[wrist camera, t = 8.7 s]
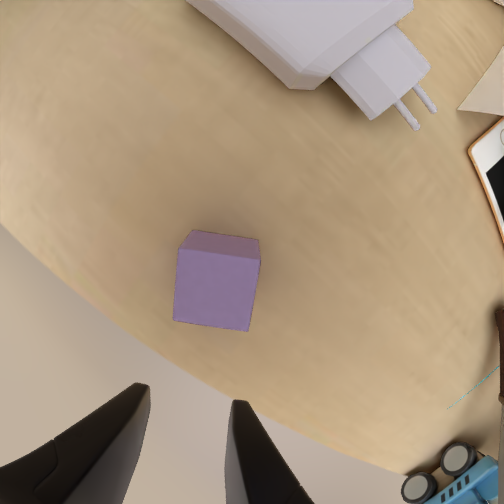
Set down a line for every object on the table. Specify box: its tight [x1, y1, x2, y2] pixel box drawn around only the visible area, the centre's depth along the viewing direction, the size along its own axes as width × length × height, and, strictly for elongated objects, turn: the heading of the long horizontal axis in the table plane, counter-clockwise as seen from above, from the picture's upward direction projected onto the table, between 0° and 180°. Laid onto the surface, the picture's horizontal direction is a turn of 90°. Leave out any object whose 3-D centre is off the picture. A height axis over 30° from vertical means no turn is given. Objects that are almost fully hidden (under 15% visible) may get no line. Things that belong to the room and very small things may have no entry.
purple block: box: [173, 230, 261, 332], centre depth 18 cm, size 4×4×4 cm
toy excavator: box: [401, 442, 498, 504], centre depth 18 cm, size 9×17×17 cm, turn 138°
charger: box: [185, 0, 437, 131], centre depth 14 cm, size 5×9×15 cm
